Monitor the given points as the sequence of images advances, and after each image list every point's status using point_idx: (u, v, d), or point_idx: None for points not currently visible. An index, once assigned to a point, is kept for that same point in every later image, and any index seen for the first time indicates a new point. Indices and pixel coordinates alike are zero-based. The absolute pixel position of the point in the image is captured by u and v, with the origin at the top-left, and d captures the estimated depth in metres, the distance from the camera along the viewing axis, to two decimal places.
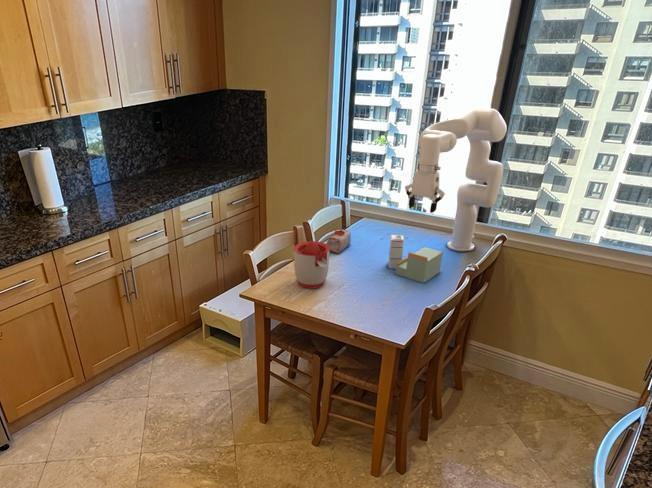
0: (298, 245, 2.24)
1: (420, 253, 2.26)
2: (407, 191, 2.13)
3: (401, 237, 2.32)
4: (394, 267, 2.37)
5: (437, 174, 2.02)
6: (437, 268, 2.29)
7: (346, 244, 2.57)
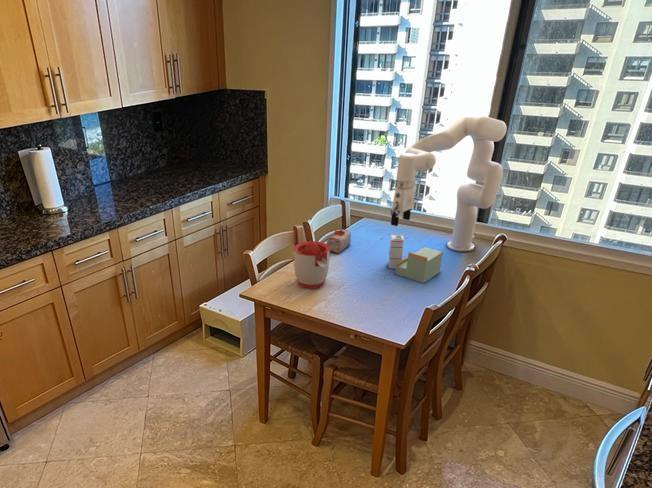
0: (298, 245, 2.24)
1: (420, 253, 2.26)
2: None
3: (401, 237, 2.32)
4: (394, 267, 2.37)
5: (399, 190, 2.17)
6: (437, 268, 2.29)
7: (346, 244, 2.57)
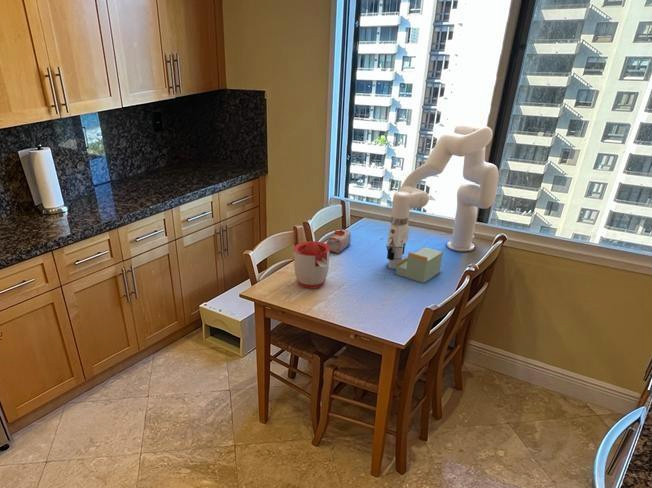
0: (298, 245, 2.24)
1: (420, 253, 2.26)
2: None
3: None
4: (394, 267, 2.37)
5: (393, 227, 2.26)
6: (437, 268, 2.29)
7: (346, 244, 2.57)
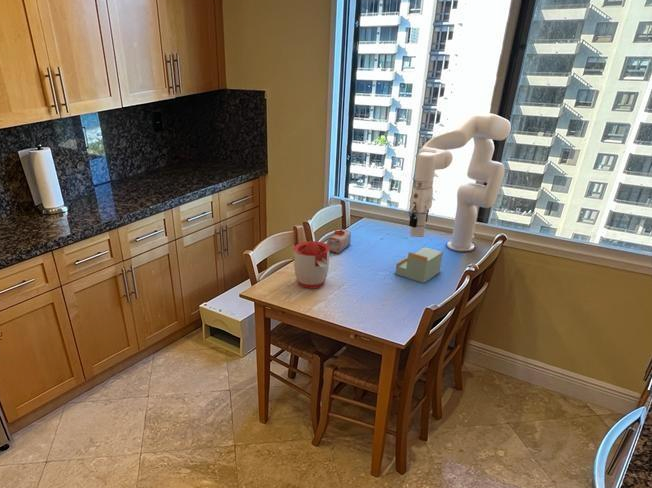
0: (298, 245, 2.24)
1: (420, 253, 2.26)
2: None
3: None
4: (416, 235, 2.23)
5: (417, 191, 2.12)
6: (437, 268, 2.29)
7: (346, 244, 2.57)
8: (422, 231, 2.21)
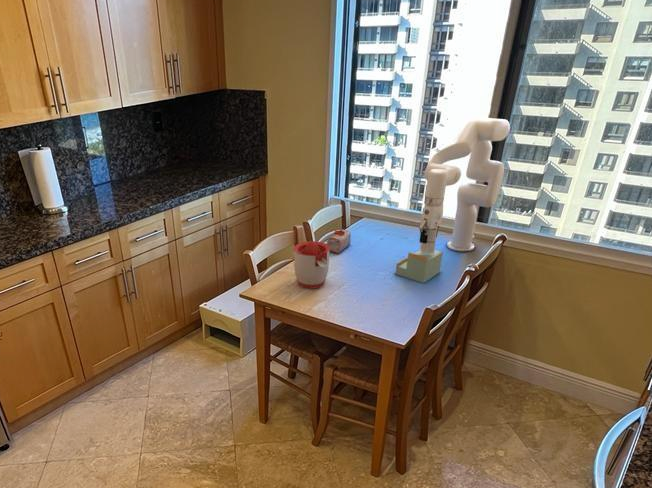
0: (298, 245, 2.24)
1: (420, 253, 2.26)
2: None
3: None
4: (427, 251, 2.22)
5: (428, 207, 2.11)
6: (437, 268, 2.29)
7: (346, 244, 2.57)
8: (432, 247, 2.21)
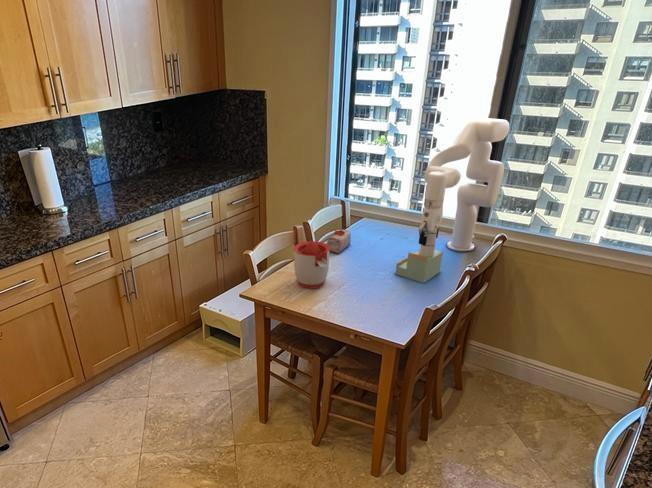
0: (298, 245, 2.24)
1: None
2: None
3: None
4: (426, 255, 2.23)
5: (427, 210, 2.12)
6: (437, 268, 2.29)
7: (346, 244, 2.57)
8: (432, 251, 2.22)
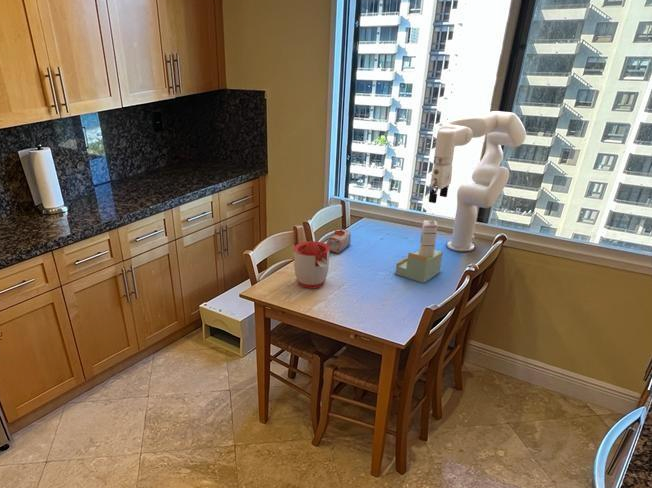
0: (298, 245, 2.24)
1: None
2: None
3: (434, 222, 2.18)
4: (426, 255, 2.23)
5: (437, 167, 2.16)
6: (437, 268, 2.29)
7: (346, 244, 2.57)
8: (432, 251, 2.22)
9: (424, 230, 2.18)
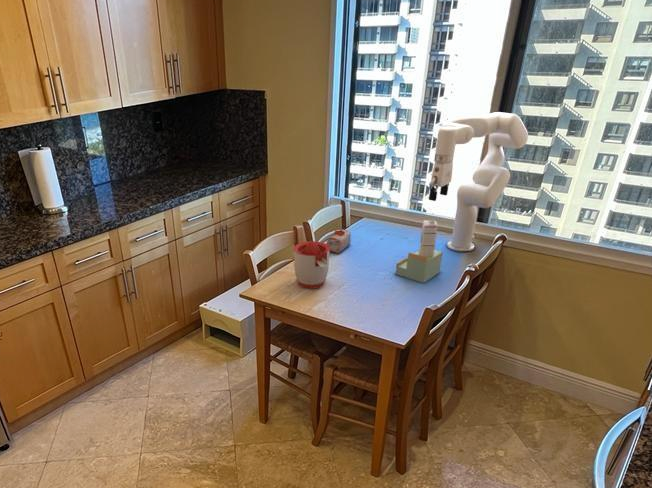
0: (298, 245, 2.24)
1: None
2: None
3: (434, 222, 2.18)
4: (426, 255, 2.23)
5: (438, 165, 2.17)
6: (437, 268, 2.29)
7: (346, 244, 2.57)
8: (432, 251, 2.22)
9: (424, 230, 2.18)
